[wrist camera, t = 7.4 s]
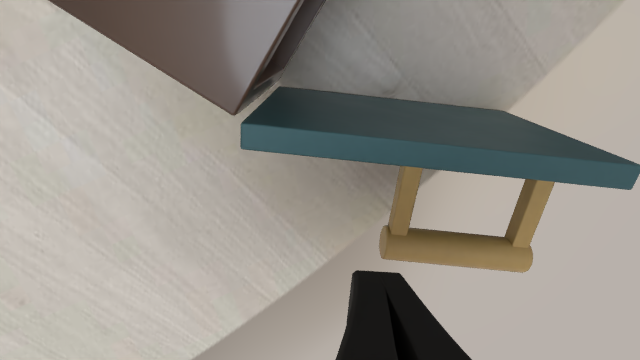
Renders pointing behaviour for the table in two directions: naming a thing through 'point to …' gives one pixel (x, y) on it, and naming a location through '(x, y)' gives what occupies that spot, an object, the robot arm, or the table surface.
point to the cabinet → (206, 40)
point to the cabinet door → (436, 163)
